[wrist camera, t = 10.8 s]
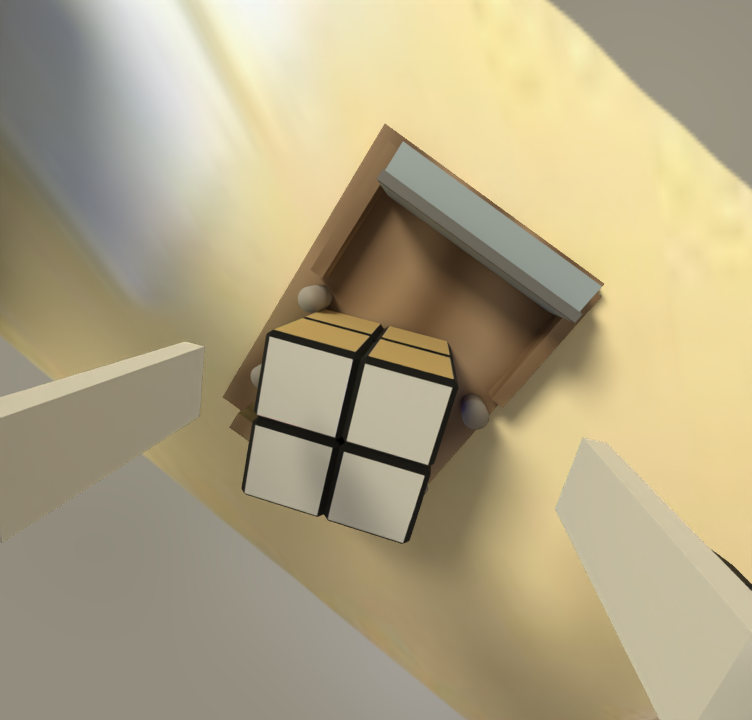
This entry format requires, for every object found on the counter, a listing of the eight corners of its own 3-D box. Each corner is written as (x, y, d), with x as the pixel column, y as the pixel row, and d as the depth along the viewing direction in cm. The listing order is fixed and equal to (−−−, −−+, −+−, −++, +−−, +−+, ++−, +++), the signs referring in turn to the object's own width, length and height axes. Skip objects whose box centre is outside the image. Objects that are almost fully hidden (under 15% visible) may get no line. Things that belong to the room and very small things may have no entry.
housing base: (230, 392, 32) (201, 410, 28) (387, 130, 26) (378, 104, 21) (398, 510, 33) (393, 545, 29) (597, 283, 26) (627, 286, 22)
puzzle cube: (416, 458, 30) (407, 550, 20) (298, 424, 31) (237, 496, 21) (451, 341, 27) (461, 382, 18) (321, 307, 28) (263, 328, 18)
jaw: (387, 195, 25) (376, 178, 20) (408, 162, 25) (402, 137, 20) (548, 312, 26) (575, 322, 21) (573, 282, 25) (606, 287, 20)
